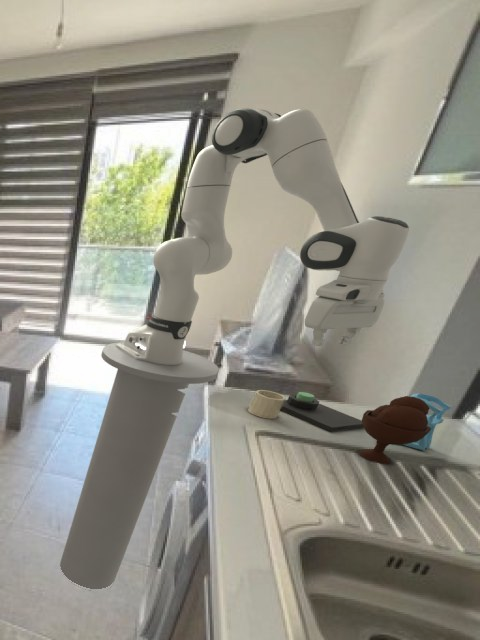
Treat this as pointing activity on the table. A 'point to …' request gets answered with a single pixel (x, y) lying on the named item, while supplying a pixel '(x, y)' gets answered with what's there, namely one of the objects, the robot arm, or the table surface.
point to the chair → (430, 420)
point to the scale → (320, 414)
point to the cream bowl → (266, 404)
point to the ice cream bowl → (395, 425)
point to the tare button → (305, 396)
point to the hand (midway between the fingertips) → (329, 344)
